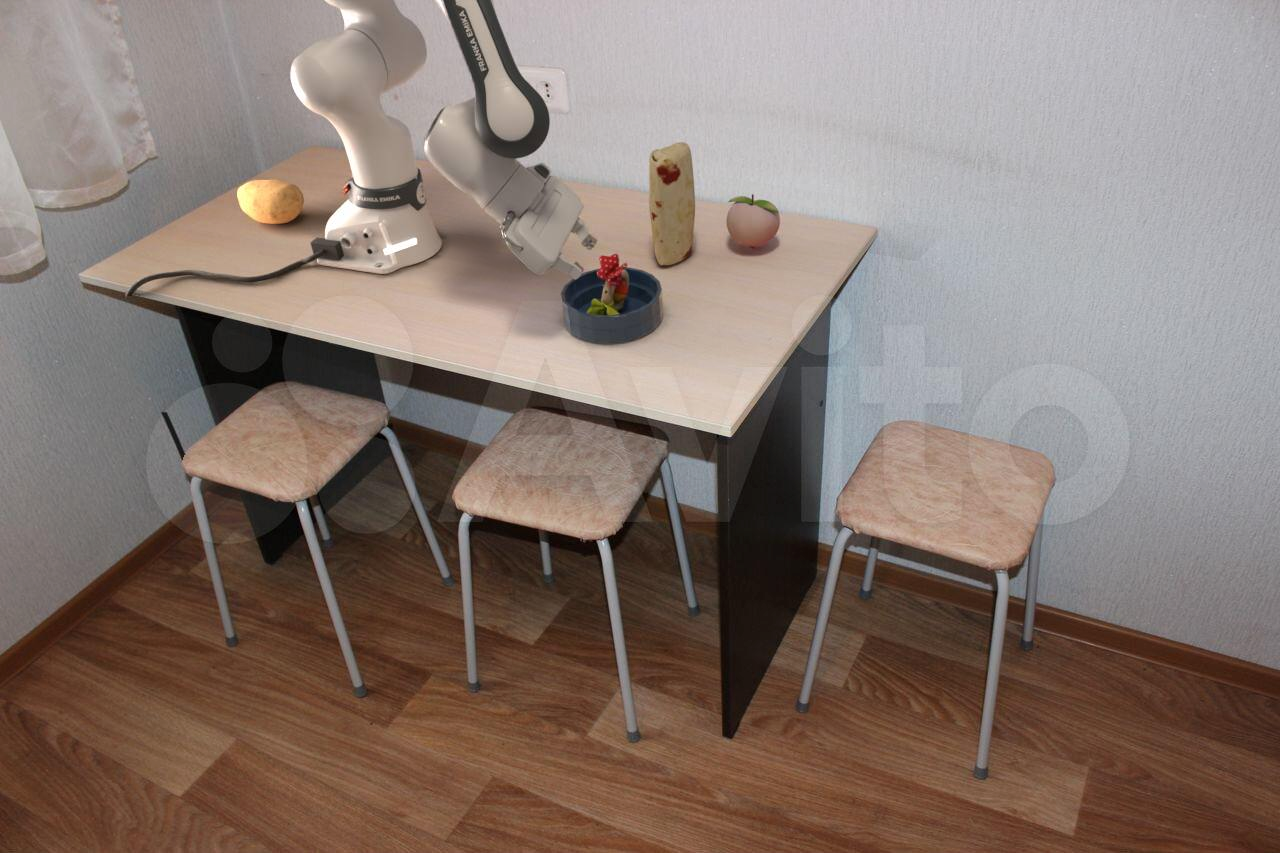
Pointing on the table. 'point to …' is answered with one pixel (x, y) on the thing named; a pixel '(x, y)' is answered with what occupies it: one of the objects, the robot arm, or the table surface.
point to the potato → (270, 201)
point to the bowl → (634, 317)
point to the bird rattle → (611, 286)
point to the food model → (672, 202)
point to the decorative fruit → (752, 221)
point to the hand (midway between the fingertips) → (587, 259)
